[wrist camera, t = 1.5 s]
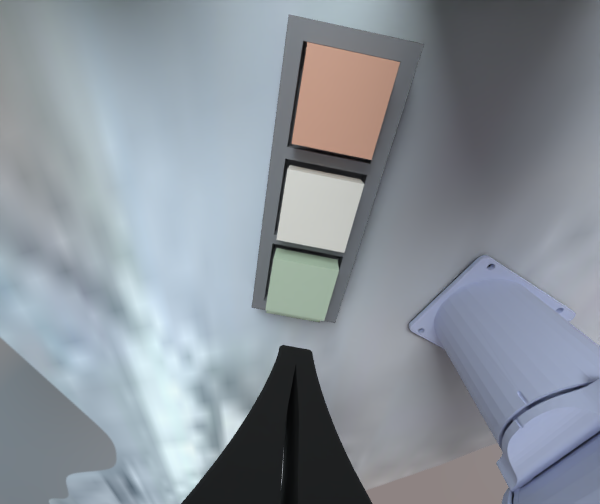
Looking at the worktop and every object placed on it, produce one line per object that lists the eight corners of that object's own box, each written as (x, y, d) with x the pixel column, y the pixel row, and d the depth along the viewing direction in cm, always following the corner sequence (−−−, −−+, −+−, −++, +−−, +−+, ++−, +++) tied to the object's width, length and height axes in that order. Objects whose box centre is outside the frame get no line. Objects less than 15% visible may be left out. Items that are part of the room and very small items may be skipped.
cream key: (342, 242, 16) (344, 252, 15) (279, 230, 16) (276, 239, 15) (360, 179, 15) (364, 184, 13) (289, 165, 14) (287, 168, 13)
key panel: (332, 307, 21) (334, 325, 19) (257, 293, 21) (251, 310, 19) (408, 55, 14) (424, 44, 12) (292, 30, 13) (288, 14, 12)
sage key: (323, 307, 19) (324, 320, 17) (268, 297, 19) (265, 310, 17) (337, 259, 17) (339, 270, 16) (276, 247, 17) (273, 257, 16)
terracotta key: (366, 156, 14) (371, 160, 13) (293, 141, 14) (291, 143, 13) (391, 68, 12) (400, 62, 11) (308, 50, 12) (307, 42, 11)
